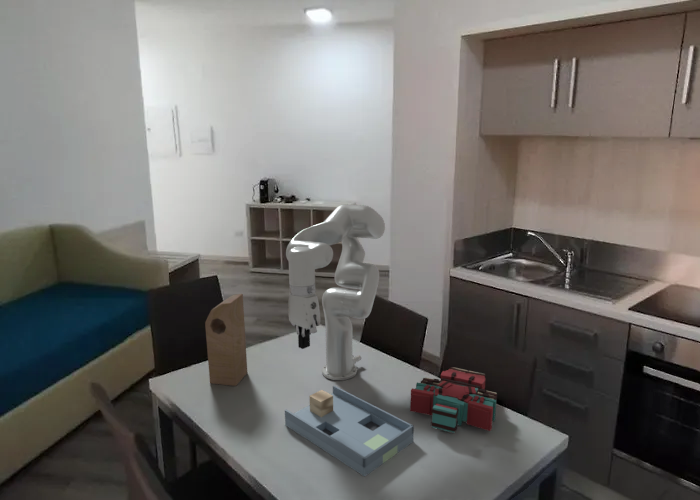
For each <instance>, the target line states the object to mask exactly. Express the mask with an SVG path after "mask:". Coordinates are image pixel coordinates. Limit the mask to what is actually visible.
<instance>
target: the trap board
mask: <svg viewBox="0 0 700 500" xmlns="http://www.w3.org/2000/svg"><path fill="white" fill-rule="evenodd" d="M330 394H331V395H333V411H332V412H330V413H328V414H326V415H324V416H323V417H320V416H318V415H316V414H315V413H313V412H311V411H310V404H309V405H307V406H306V407H303V408H300V409H298V410H297V411H296V412H292V411H290V410H288V409H284V421H285V422H284V423H285V426H286V427H287V428H289V429H291V430H292V431H294V432H295V433H296V434H298V435H300V436H301V437H302V438H304V439H306V440H308V441H309V442H310V443H312V444H314V445H315V446H317V447H318V448H320V449H321V450H323V451H324V452H326V453H327V454H329V455H331V456H332V457H334V458H335V459H337V460H339V461H340V462H341V463H343V464H344V465H346V466H348V467H349V468H350V469H352V470H353V471H355V472H357V473H359V474H360V475H361V476H363V477H366V476H367V475H369V474H370V473H371V472H373V471H375V470H376V469H377V468H380V466H382V465H383V464H384V463H385V462H387V461H388V460H391V458H392V457H394V456H395V455H397V454H398V453H400V452H401V451H403V450H404V449H405V448H407V447H408V446H410V444H412V443H414V431H415V430H414V429H415V428H414V425H413V424H412V423H409V422H407V421H405V420H403V419H402V418H399V417H397V416H396V415H394V414H391V413H390V412H388V411H386V410H384V409H381V408H380V407H378V406H375V405H373V404H372V403H370V402H368V401H366V400H364V399H362V398H360V397H357V396H356V395H354V394H352V393H350V392H348V391H346V390H344V389H342V388H340V387H338V386H336V385H333V386H332V393H330Z"/></svg>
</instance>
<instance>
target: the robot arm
mask: <svg viewBox="0 0 700 500" xmlns="http://www.w3.org/2000/svg"><path fill="white" fill-rule="evenodd" d="M385 224H386V223H385V220H384V218H383V217H382V215H380V214H379V212H377V210H375V209H374V208H373V207H371V206H369V205H364V204H363V205H362V204H348V203H347V204H341V205H338V206H337V207H335V209H334V210H333V211H332V212H331V213H330V214H329V215H328V216H327V217H326V219H324V220H323V222H320V223H317V224H314V225H312V226H309V227H307V228H304V229H302V230H301V231H299V232H297V234H295V235H294V237H293V238H292V239H291V240H290V241H289V243H288V244H287V246H286V248H285V249H286V250H285V257H286V259H287V261H288V277H289V278H288V279H289V281H288V282H289V294H288V302H287V305H288V307H287V309H288V311H287V313H288V320H289V322H290V324H291V326H293V327H294V328H295V330H296V335H297V341H298V348H299V349H301V350H303V349H307V348H309V347H310V346H311V337H310V335H312V334H315V333H318V328H317V327H320V326H321V310H320V302H319V297H318V294H317V293H316V292H317V291H316V270H318V269H322V268H325V267H327V266H328V265H329V264H330V263H331V262H332V260H333V257H334V250H333V248H332V247H331V246H333V245H337V244H339V243H340V242H341V246H342V248H341V253H340V257H339V260H338V263H337V266H336V269H335V271H334V283H335V284H336V285H337V286H339V287H330V288H328V289H326V290H325V291H324V292H323V294H322V297H321V304H322V310H323V315H324V322H325V323H324V325H325V326H324V327H325V364H324V366H322V368H321V375H323V377H324V378H326V379H329V380H333V381H344V380H345V381H346V380H350V379H353V378H354V377H355V376H356V375H357V374H358V368H357V366H356V363H357V362H360V361H362V356H361V355H360V354H359V355H357V356H354V355H353V353H354V352H353V351H354V350H353V324H352V321H351V319H350V318H354V319H361V320H362V319H366V318H369V316H370V314H371V312H372V309H373V305H374V301H375V300H376V299H375V298H376V294H377V291H378V287H379V283H380V271H379V270H380V269H379V268H378V266H377V265H375V264H373V263H369V262H368V263H367V262H364V259H365V256H366V252H365V248H364V247H363V245H362V244H361V242H360V241H359V238H361V239H371V240H376V239H381V237H382V236H383V235H384V233H385V230H386V226H385Z"/></svg>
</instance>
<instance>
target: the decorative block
mask: <svg viewBox="0 0 700 500" xmlns="http://www.w3.org/2000/svg"><path fill="white" fill-rule="evenodd" d="M244 309H245V308H244V296H243V293H238V294H233V295H231V296H229V297H227V298H226V299H224V300H223V301H222V302H220V303H219V304H217V305H216V306H215V307H213V308H211V310H210V311H209V314H208V315H207V318H206V320H205V321H204V324H205V326H204V327H205V338H206V349H207V351H206V352H207V362H208V373H209V374H208V376H209V377H208V378H209V384H213V385H224V386H233V387H237V386H238V384H239V383H240V382H241V381H242V380H243V379H244V377H245V376H246V375H248V359H247V345H246V343H247V342H246V329H245V328H246V327H245V326H246V325H245V310H244Z"/></svg>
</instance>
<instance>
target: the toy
mask: <svg viewBox="0 0 700 500" xmlns="http://www.w3.org/2000/svg"><path fill="white" fill-rule="evenodd" d="M486 380H487V379H486V373H482V372H478V371H472V370H467V369H463V368H458V367H453V366H451V367H450V368H449V369H448V370H447V369H446V370H442V372H441V374H440V379H438V378H430V377H427V376H426V377H423V378H422V379H421V380H420V382H416V384H415V388H413V387H412V388H411V389H410V401H409V402H410V406H409V407H410V408H409V411H410V412H412V413H418V414H422V415H428V416H432V417H431V418H432V419H431V422H430V426H431V428H433V429H436V430H439V431H443V432H447V433H450V434H455V433H456V431H457V429H458V426H460V427H462V424H463V422H464V423H466V425H468V426H472V427H475V428H479V429H482V430H484V431H487V432H488V431H489V432H491V431H492V429H493V422H495V420H496V413H497V401H498V393H497V392H494V391H490V390H487V389H485V388H486Z"/></svg>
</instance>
